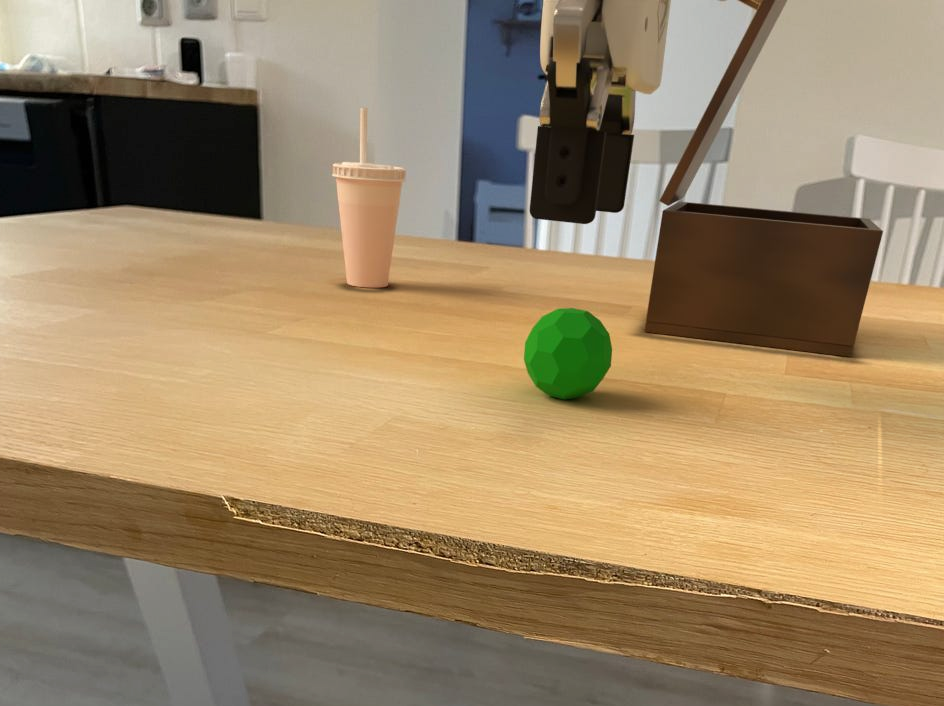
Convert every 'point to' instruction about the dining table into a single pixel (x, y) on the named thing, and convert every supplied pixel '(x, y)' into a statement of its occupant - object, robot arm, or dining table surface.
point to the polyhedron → (568, 353)
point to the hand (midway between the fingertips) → (579, 215)
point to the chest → (762, 277)
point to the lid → (723, 96)
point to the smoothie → (368, 215)
